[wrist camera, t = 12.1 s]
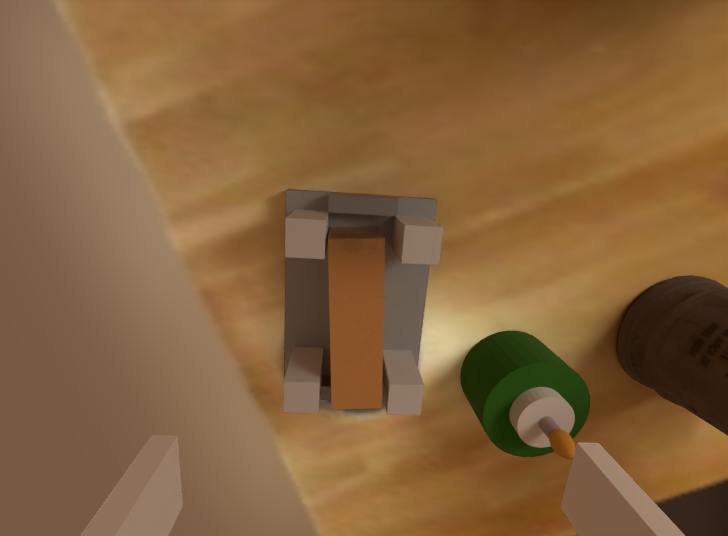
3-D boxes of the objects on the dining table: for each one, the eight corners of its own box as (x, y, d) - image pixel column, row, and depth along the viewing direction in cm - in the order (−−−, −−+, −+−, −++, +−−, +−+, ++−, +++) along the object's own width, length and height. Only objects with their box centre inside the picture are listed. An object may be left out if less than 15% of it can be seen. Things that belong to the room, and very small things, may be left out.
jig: (289, 189, 28) (273, 195, 21) (432, 198, 28) (457, 206, 22) (286, 377, 32) (273, 428, 25) (411, 380, 32) (428, 430, 26)
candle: (561, 335, 32) (654, 406, 23) (536, 415, 34) (612, 511, 25) (471, 325, 32) (528, 394, 22) (451, 408, 34) (496, 504, 24)
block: (330, 226, 27) (327, 239, 22) (377, 226, 27) (385, 238, 22) (333, 371, 30) (331, 409, 25) (375, 370, 30) (381, 408, 26)
